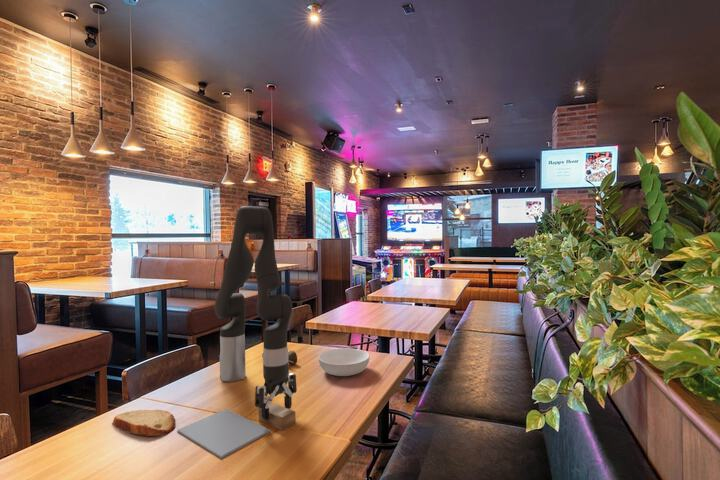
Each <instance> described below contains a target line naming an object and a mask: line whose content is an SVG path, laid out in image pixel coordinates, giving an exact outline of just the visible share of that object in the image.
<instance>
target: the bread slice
mask: <svg viewBox="0 0 720 480" xmlns="http://www.w3.org/2000/svg"><path fill="white" fill-rule="evenodd" d="M111 424H112V425H113V426H114V427H116V428H117V429H119V430H122V431H124V432H127V433H129V434H133V435H136V436H142V437H146V436H147V437H161V436H166V435H168V434H169V435H170V433H172V432H173V431H174V430H175V429H176V417H174V415H173V414H172V413H171V412H169V411H167V410H162V409H139V410H138V409H137V410H131V411H126V412H123V413H120V414H116V415H115V416H114V418H113V420H112V423H111Z"/></svg>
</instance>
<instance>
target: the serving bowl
mask: <svg viewBox="0 0 720 480" xmlns="http://www.w3.org/2000/svg"><path fill="white" fill-rule="evenodd" d="M318 363H319V366H320V368H321V369H322V370H323V371H324V372H325V373H327V374H329V375H332V376H336V377H349V376H354V375H357V374H358V375H359V374H360V373H361V372H363V371H364V370H365V369H366V368H367V367H368V365H369V363H370V353H368V352H367V351H365V350H363V349H357V348H350V347H349V348H347V347H346V348H344V347H343V348H342V347H341V348H334V349H333V348H332V349H329V350H325V351H323V352H321V353H320V354H319V355H318Z"/></svg>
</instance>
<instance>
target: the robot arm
mask: <svg viewBox="0 0 720 480" xmlns="http://www.w3.org/2000/svg"><path fill="white" fill-rule="evenodd" d="M235 215H236V216H235V220H234V228H233V233H232V239H231V241H232V242H231V245H230V250H229V253H228V257H227V260H226V263H225V264H226V265H225V268H224V272H223V273H224V274H223V278H222V281H221V284H220V287H219V289H218V293H217V296H216V299H215V303H214V314H215V316H216V317H217V318H218V319H231V318H233V319H232V320H231V321H230V322H228V323H226V324H224V325H223V326H221V328H220V329H219V343H220V345H219V347H220V352H219V377H220V380H221V381H223V382H227V383H228V382H232V383H233V382H237V381H241V380H244V379H245V378H246V373H247V372H246V339H245V338H246V337H245V335H246V334H245V332H246V331H245V330H246V329H245V328H246V298H245V296H244V295H243V293H242V292H241V293H240V292H236V291H237V290H238V289H240V288H241V286H243V285H244V284H245V283H246V282H247V281H248V280H249V278H250V277H251V274H252V271H253V269H254V274H255V278H256V282H257V283H256V285H257V299H256V308H255V309H256V314H257V316H258V317H259V319H260V320H262V321H270V320H276V319H277V320H276V322H275V323H274V324H272V325H270V326H267V327H265V328H264V329H263V333H262V334H263V336H262V337H263V342H262V343H263V352H262V354H263V357H262V368H263V369H262V372H263V375H262V376H263V379H264V383H263V385H261V386H259V385H256V386H255V388H254V389H255V391H254V393H255V395H254V396H255V397H254V406H255V407H256V408H260V409H261V414H262V418H263V419H264V420H266V421H267V420H269V404H270V402H272V401H273V400H274V398H275V397H277V396H278V395H281V394H283V395H284V396H283V397H284V398H283V399H284V403H283V405H284V407H285V408H287V409H290V410H291V409H292V406H293V401H292V400H293V399H292V397H293V395H294V394H296V393H297V391H298V388H297V375H296V373H292V372H290V370H289V369H290V367H289V366H290V365H289V364H290V363H288V352H289V349H288V328H289V323H290V320H291V316H292V312H293V302H292V298H291V297H290V296H289V295H288V294H283V293H282V294H275V295H269V294H268V293H271V292H274V291H276V290H277V289H279V288H280V286H281V284H282V283H281V282H282V281H281V278H280V273H279V268H278V263H277V259H276V251H275V250H276V249H275V248H276V247H275V234H274V223H273V217H272V213H271V211H270V208H268V207H265V206H253V205H251V206H250V205H243V206H242V205H241V206H240V207H239V208H238V210H237V212H236V214H235ZM250 234H251V235H261V236H262V243H261V244H262V245H261V247H260V249H259V251H258V254H257V256H256V258H255V259H254V255H253V253H252V252H251V250H250V248H249V247H248V245H247V242H246V236H247V235H250ZM253 267H254V268H253ZM268 395H269V396H268Z"/></svg>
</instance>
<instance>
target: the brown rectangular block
mask: <svg viewBox="0 0 720 480" xmlns="http://www.w3.org/2000/svg"><path fill="white" fill-rule="evenodd" d="M257 408H258V407H257ZM258 420H259V422H263V423H264V424H266V425H269V426H271V427H273V428H276V429H278V430H281V431H282V432H284V431H285V430H286V431H287V429H289V428H291V427H292V426H294V425H296V424H297V422H296V421H297V420H296V411H295V410H292V409H291V408H290V409H287V408H285V406H282V405H280V404H278V403H274V402H272V401H271V402H270V404H269V420H267V421H266V420H264V419H263V418H262V414H261V409H260V408H258Z"/></svg>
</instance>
